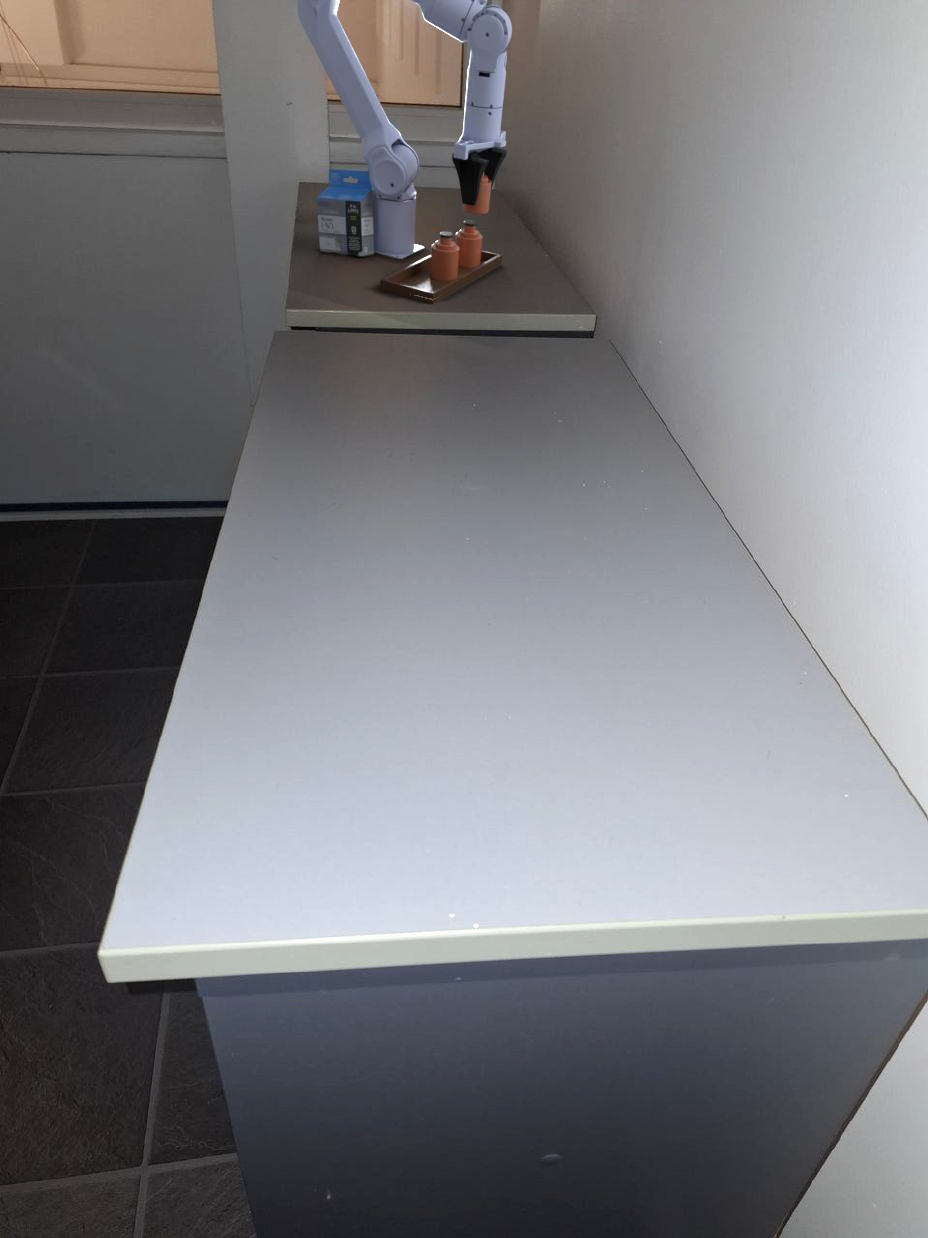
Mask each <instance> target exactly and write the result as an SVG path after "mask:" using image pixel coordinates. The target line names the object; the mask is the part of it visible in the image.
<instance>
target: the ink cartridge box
mask: <svg viewBox="0 0 928 1238" xmlns="http://www.w3.org/2000/svg"><path fill="white" fill-rule="evenodd" d="M350 177H351V179H352V180H357V182H352V181H351V182H350V181H344V180H345V179H349V178H350ZM316 208H317V209H316V210H317V226H318V240H319V251H320V252H322V253H326V254H331V253H336V254H339V255H346V256H355V257H363V258H364V257H369V256H374V255H375V252H374V231H373V190H372V185H371V182H370V178H369V171H368V170H352V169H335V168H329V169H328V186H327V187H326V188H325V189H324V191H322V192H321V193H320V194H319V195H318V196H317V197H316Z"/></svg>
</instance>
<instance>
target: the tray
mask: <svg viewBox="0 0 928 1238" xmlns="http://www.w3.org/2000/svg"><path fill="white" fill-rule="evenodd" d="M502 261H503V255H502V254H499V253H496V252H492V251H487V250H484V249H482V251H481V262H480V265H479V266H477V267H475V268H464V267H460V266H458V277H457V278H456V279H454V280H452V281H440V280H436V279H433V278H432V277H430V264H431V254H429V255H427V256H425V257H423V258H421V259H419V260H417V261H415V262H413V263H411V264H409V265H407V266H405V267H403V268H401V269H398V270H397V271H394V272H393V273H390V274H389V275H386V276H385V277H383V278H381V279H380V280H379V281H380V283H379V284H380V291H382V292H386V293H390V294H393V295H397V296H400V297H405V298H408V299H412V300H416V301H419V302H423V303H426V304H430V305H434V304H436V303H438V302H440V301H441V300H443V299H445V298H446V297H448V296H450V295H452V294H454V293H455V292H457V291H458V290H460V289H462V288H464V287H465V286H467V285H468V284H470V283H472V282H474V281H476V280H477V279H479V278H481V277H483V276H484V275H486V274H488V273H490V272H491V271H493V270H495V269H496V268H498V267H500V266H502ZM410 294H411V295H410ZM414 295H419V296H423V297H427V298H432V299H434V298H437V297H439V296H440V297H439V298H437V299H435V300H433V301H432V300H429V299H425V298H421V297H418V296H414ZM441 295H442V296H441Z"/></svg>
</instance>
